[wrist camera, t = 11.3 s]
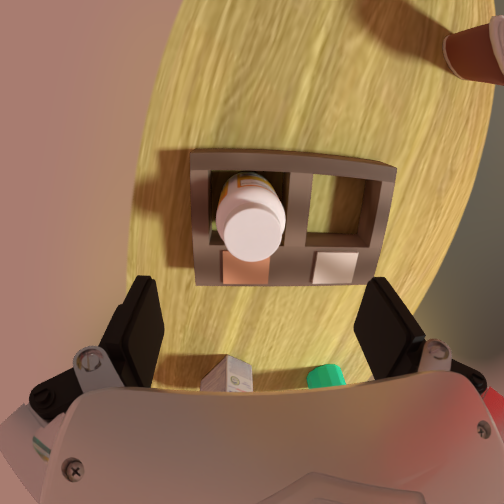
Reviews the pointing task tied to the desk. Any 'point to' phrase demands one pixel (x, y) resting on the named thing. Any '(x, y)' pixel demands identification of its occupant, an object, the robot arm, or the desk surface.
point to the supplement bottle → (250, 217)
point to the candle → (325, 377)
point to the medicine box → (229, 377)
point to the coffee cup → (477, 52)
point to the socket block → (292, 221)
